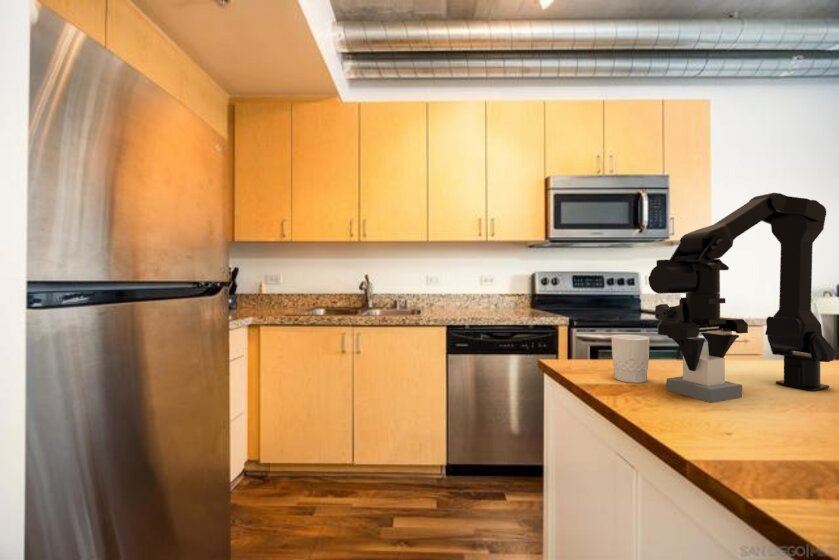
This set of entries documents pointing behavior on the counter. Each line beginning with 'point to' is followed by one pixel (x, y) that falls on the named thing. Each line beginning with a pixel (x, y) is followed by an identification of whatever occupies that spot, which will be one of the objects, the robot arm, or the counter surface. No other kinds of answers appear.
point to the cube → (706, 371)
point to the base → (705, 390)
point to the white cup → (630, 357)
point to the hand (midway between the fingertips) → (703, 369)
